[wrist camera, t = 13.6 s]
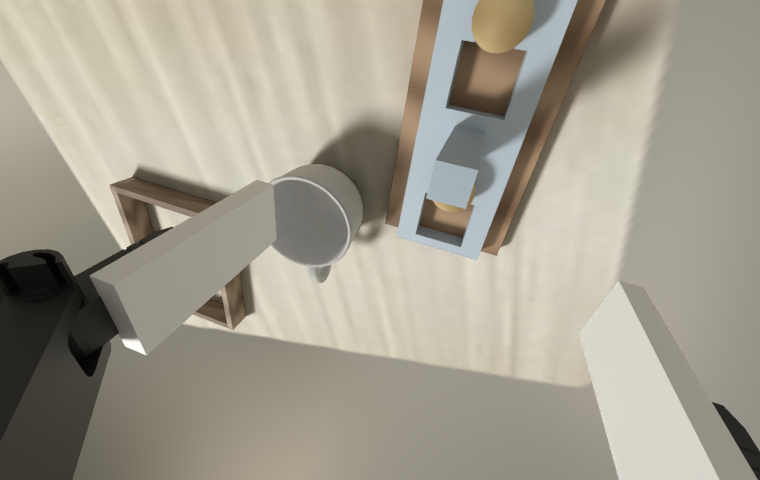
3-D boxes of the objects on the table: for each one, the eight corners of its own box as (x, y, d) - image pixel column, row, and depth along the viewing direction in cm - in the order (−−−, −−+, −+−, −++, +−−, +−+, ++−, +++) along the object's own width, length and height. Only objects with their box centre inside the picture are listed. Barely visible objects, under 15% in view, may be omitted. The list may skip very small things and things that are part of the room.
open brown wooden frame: (131, 177, 49) (109, 185, 46) (230, 207, 46) (212, 217, 43) (166, 286, 62) (150, 297, 59) (245, 316, 59) (232, 330, 56)
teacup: (294, 145, 38) (251, 166, 31) (379, 167, 36) (352, 194, 29) (295, 241, 45) (261, 273, 39) (365, 263, 43) (342, 301, 37)
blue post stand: (454, -34, 24) (421, -94, 14) (580, -19, 22) (648, -75, 12) (401, 228, 37) (363, 296, 27) (478, 250, 35) (469, 332, 25)
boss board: (447, -113, 23) (434, -151, 19) (642, -99, 21) (681, -139, 16) (388, 218, 38) (374, 239, 34) (496, 248, 36) (496, 276, 32)
